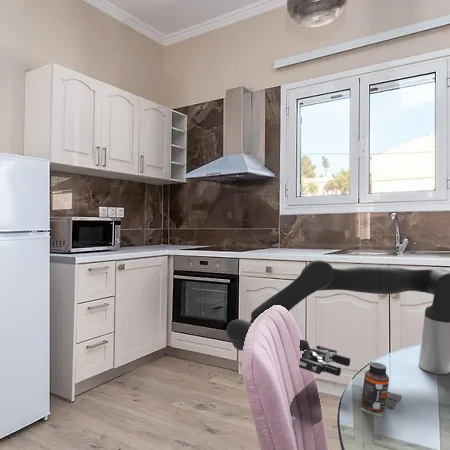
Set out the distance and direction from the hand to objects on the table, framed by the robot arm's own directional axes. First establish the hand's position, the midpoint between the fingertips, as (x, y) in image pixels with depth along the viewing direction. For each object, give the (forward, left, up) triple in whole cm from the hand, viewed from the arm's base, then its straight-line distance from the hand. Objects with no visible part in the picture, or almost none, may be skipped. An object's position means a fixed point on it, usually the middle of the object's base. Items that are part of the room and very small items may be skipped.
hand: (345, 367), depth 110 cm
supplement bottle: (-1, +8, -9) cm, 12 cm away
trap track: (-6, +9, -9) cm, 14 cm away
